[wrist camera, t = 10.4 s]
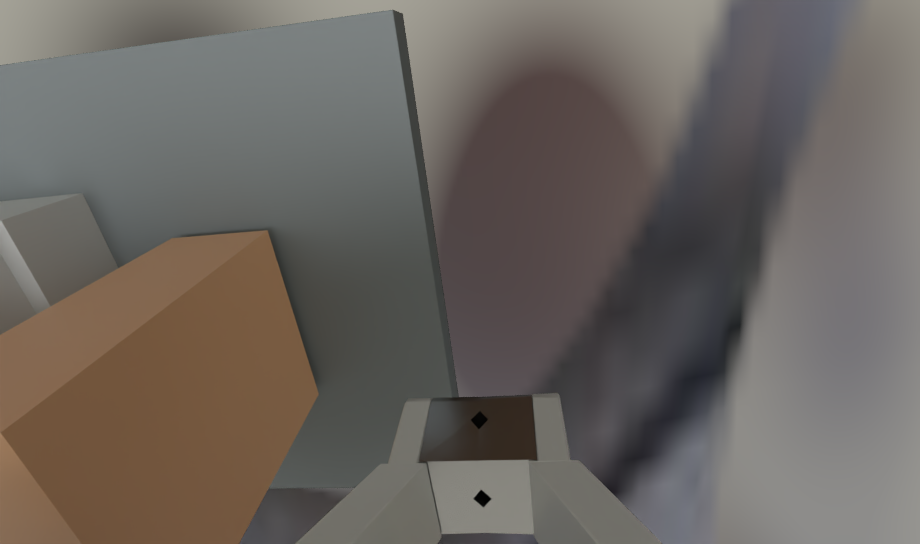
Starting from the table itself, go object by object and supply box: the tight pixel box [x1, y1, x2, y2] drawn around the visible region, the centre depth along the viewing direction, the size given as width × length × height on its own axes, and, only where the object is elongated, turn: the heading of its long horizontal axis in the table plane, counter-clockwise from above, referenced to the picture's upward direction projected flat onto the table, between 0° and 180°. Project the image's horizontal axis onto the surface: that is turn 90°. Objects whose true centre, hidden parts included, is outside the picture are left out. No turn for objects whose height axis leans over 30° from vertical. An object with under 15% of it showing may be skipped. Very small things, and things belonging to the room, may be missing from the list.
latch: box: [0, 230, 319, 544], centre depth 11 cm, size 6×6×8 cm
